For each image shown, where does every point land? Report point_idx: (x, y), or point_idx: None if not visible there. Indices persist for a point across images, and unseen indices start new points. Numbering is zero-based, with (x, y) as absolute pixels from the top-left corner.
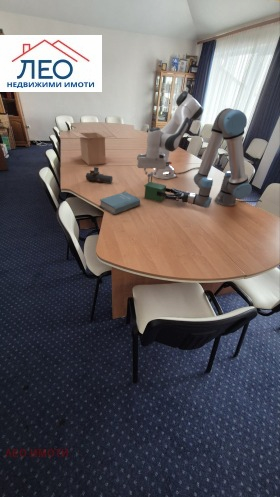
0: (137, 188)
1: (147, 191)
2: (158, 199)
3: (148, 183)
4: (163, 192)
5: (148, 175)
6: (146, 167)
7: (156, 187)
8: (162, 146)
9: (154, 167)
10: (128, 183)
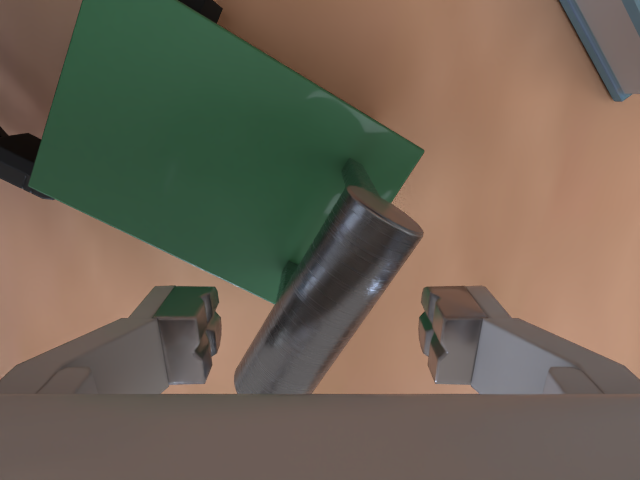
0: (414, 365)
1: None
2: None
3: (356, 165)
4: None
5: (397, 215)
6: (627, 417)
7: (207, 57)
8: None
9: (138, 434)
10: None
